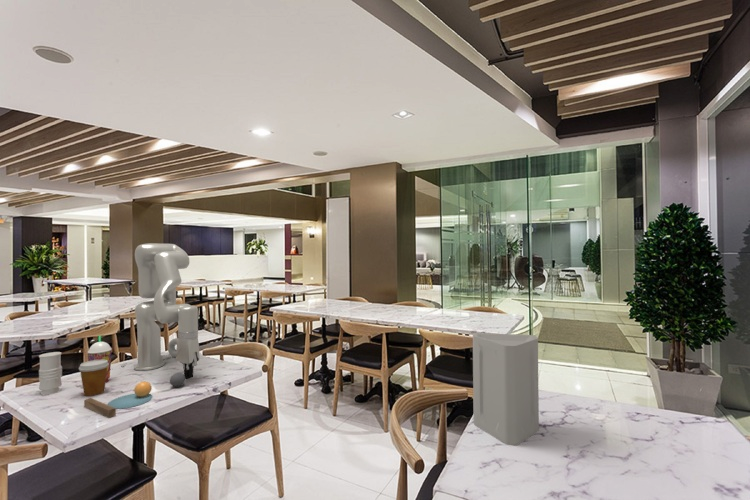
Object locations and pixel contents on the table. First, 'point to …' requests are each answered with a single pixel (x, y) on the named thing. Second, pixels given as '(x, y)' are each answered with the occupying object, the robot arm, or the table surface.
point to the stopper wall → (100, 407)
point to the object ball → (142, 389)
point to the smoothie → (101, 354)
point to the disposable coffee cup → (93, 376)
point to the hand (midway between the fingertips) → (188, 378)
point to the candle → (50, 373)
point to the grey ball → (177, 379)
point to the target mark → (129, 401)
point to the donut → (172, 347)
